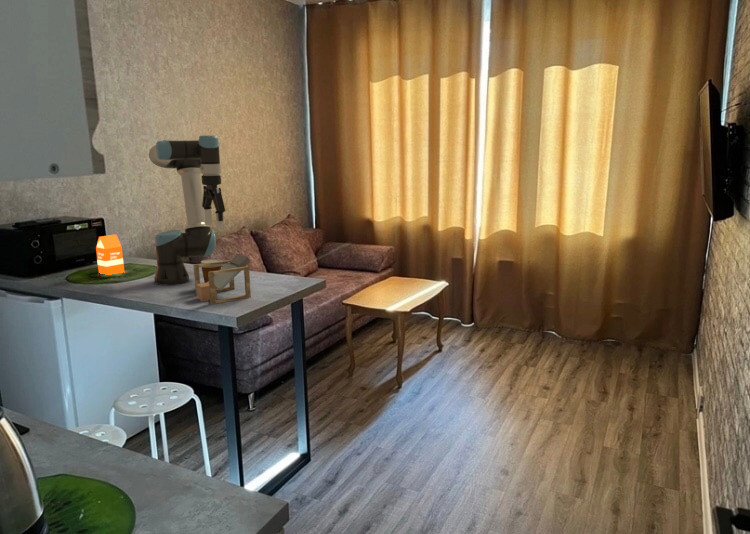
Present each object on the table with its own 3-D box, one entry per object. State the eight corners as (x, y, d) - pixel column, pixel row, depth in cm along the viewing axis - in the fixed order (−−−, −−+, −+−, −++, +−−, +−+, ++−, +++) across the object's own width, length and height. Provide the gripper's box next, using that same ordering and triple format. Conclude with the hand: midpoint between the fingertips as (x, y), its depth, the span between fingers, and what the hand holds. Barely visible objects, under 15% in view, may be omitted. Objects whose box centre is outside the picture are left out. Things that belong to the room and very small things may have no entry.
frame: (195, 294, 238) (193, 264, 235) (233, 288, 248) (231, 259, 245) (211, 304, 223) (209, 272, 221) (250, 297, 233) (249, 266, 230)
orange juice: (99, 276, 272) (94, 236, 268) (116, 273, 279) (111, 233, 275) (108, 279, 268) (103, 237, 263) (125, 275, 275) (120, 235, 270)
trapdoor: (209, 284, 239) (205, 280, 238) (239, 256, 245) (235, 252, 243) (222, 291, 227) (218, 287, 226) (253, 261, 233) (249, 257, 232)
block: (211, 295, 236) (197, 298, 232) (210, 281, 234) (196, 284, 231) (216, 298, 231) (202, 301, 228) (215, 284, 230) (201, 287, 226)
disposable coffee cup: (222, 289, 246) (221, 262, 244) (200, 290, 245) (198, 263, 242) (225, 284, 255) (223, 258, 253) (203, 285, 254) (201, 259, 251)
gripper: (192, 173, 234) (195, 224, 239) (212, 176, 214) (216, 231, 219) (209, 172, 238) (213, 222, 243) (231, 176, 218) (234, 230, 223)
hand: (214, 227), depth 231 cm, fingers open, 13 cm apart
